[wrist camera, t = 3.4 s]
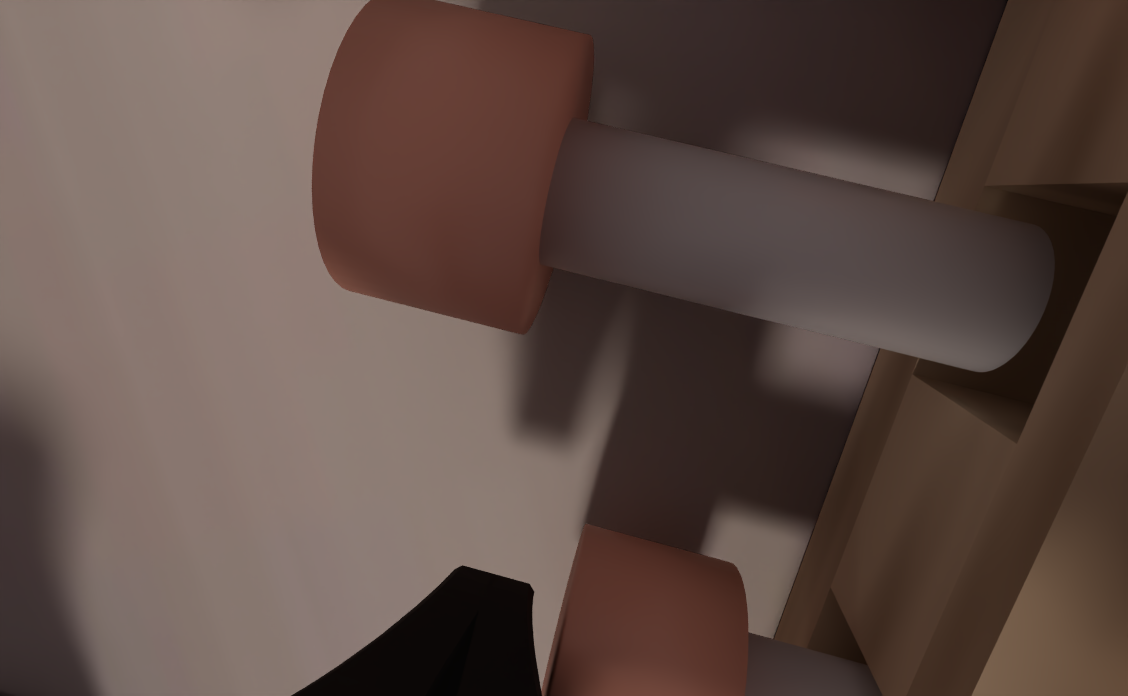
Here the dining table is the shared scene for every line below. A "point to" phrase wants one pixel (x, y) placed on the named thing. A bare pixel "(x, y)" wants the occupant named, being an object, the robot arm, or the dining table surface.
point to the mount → (1002, 415)
